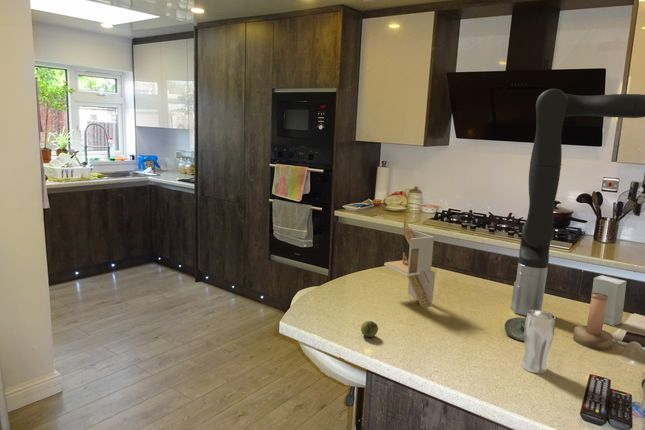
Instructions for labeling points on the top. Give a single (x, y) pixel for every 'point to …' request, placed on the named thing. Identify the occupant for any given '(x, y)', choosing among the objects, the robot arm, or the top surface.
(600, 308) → the pink drinking glass
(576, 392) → the top surface
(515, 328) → the lid
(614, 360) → the top surface
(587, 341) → the base
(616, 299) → the skincare box
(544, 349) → the beer glass
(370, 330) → the lime
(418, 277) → the staircase
